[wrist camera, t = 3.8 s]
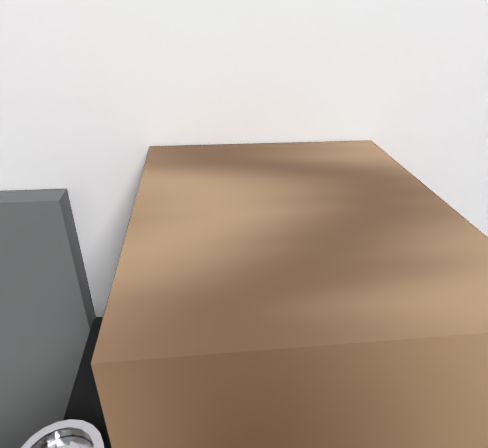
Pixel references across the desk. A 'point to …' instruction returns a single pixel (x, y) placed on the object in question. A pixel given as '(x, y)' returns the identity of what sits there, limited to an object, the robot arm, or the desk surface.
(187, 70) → the desk surface
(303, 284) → the brown wooden block
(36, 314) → the rest mat
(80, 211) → the desk surface
